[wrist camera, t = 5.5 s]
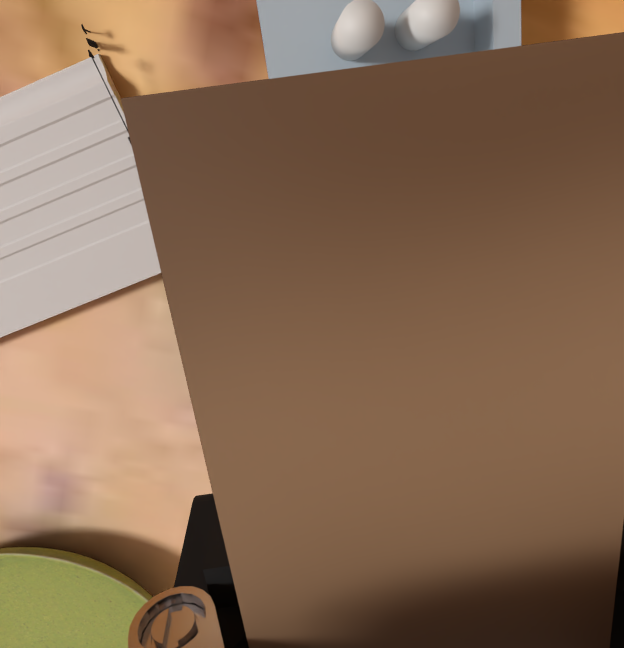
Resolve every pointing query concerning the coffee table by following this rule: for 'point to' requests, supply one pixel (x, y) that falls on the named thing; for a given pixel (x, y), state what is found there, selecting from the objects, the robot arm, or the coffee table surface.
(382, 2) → the peg frame
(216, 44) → the coffee table surface
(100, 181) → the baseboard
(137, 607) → the saucer
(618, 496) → the shelf board
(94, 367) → the coffee table surface
